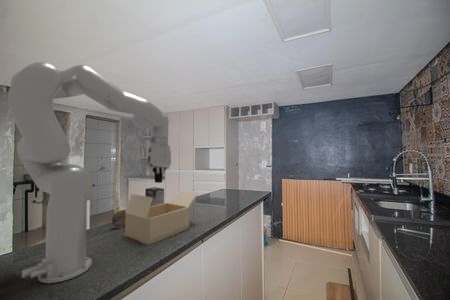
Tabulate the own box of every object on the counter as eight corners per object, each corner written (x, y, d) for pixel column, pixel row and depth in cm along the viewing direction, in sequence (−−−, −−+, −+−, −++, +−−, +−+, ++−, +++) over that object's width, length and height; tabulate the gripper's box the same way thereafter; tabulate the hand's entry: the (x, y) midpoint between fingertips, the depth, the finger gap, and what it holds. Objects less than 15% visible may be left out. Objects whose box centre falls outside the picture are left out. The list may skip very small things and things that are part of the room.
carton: (148, 245, 77) (148, 219, 77) (124, 235, 86) (125, 212, 87) (189, 228, 95) (189, 207, 95) (166, 222, 104) (166, 202, 105)
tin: (112, 230, 93) (112, 212, 93) (111, 228, 95) (111, 210, 96) (145, 223, 102) (146, 206, 103) (143, 222, 105) (144, 205, 105)
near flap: (132, 194, 88) (131, 193, 88) (152, 197, 80) (151, 197, 80) (126, 212, 86) (125, 212, 85) (146, 218, 78) (145, 218, 77)
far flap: (196, 194, 101) (197, 195, 101) (177, 191, 109) (177, 192, 110) (188, 206, 96) (188, 207, 96) (168, 203, 104) (168, 203, 104)
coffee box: (144, 217, 113) (144, 188, 113) (153, 214, 118) (154, 187, 119) (155, 220, 108) (155, 189, 109) (164, 216, 113) (164, 188, 114)
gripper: (150, 139, 84) (148, 184, 83) (177, 142, 96) (176, 181, 95) (139, 140, 88) (138, 183, 87) (167, 143, 100) (166, 180, 99)
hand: (158, 182), depth 91 cm, fingers closed
